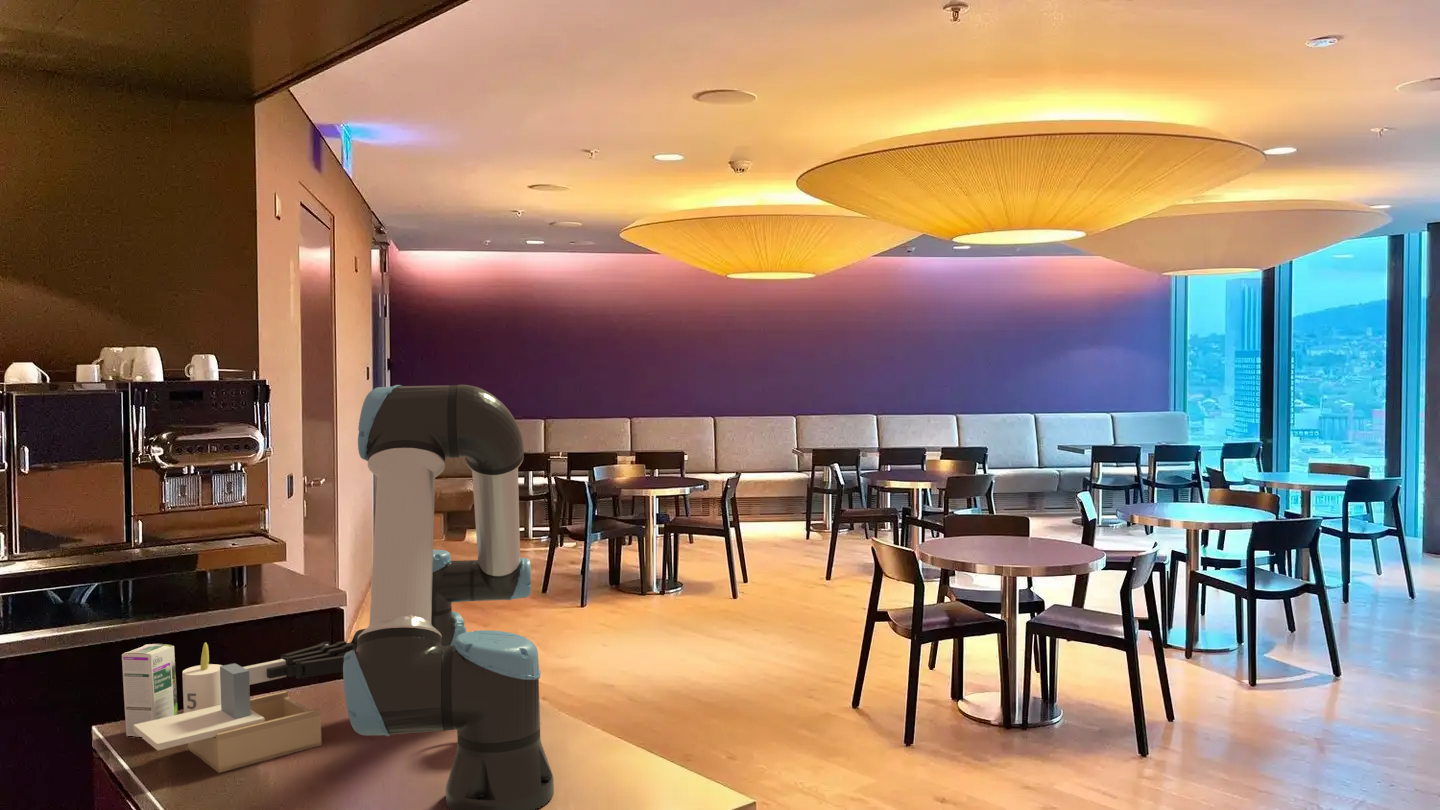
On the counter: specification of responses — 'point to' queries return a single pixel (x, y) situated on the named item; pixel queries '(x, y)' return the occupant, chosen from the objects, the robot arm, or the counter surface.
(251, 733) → the box
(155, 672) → the syrup box
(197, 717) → the lid
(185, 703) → the candle
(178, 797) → the counter surface
